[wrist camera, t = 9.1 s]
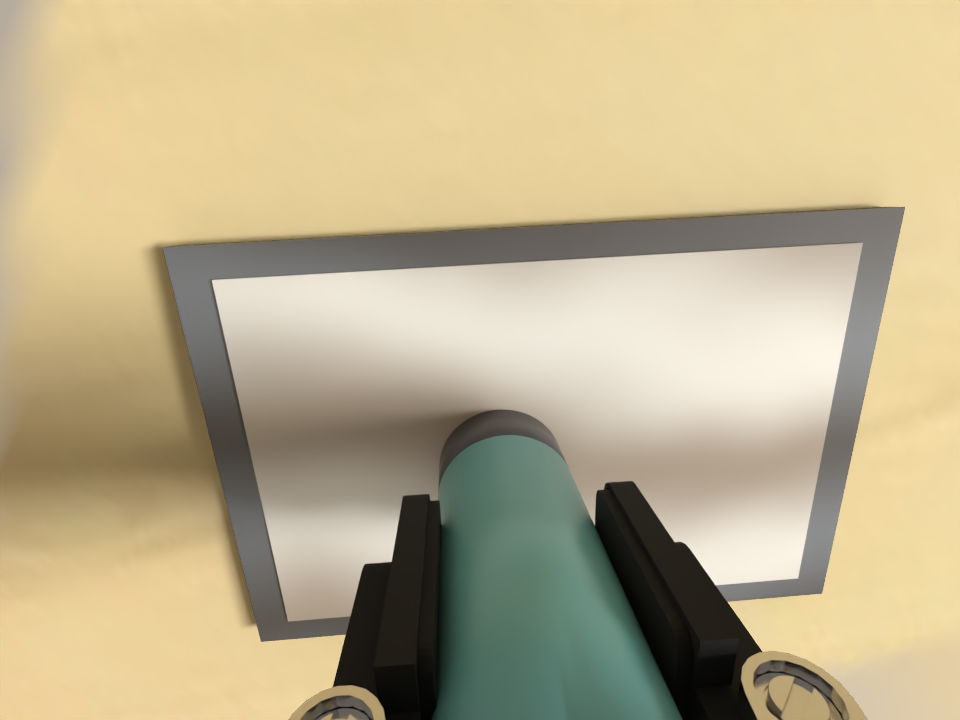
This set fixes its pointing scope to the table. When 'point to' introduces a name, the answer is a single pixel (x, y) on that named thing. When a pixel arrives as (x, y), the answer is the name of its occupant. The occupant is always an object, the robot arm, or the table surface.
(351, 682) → the robot arm
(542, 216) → the table surface
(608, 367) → the clipboard
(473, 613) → the marker
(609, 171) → the table surface
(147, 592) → the table surface
